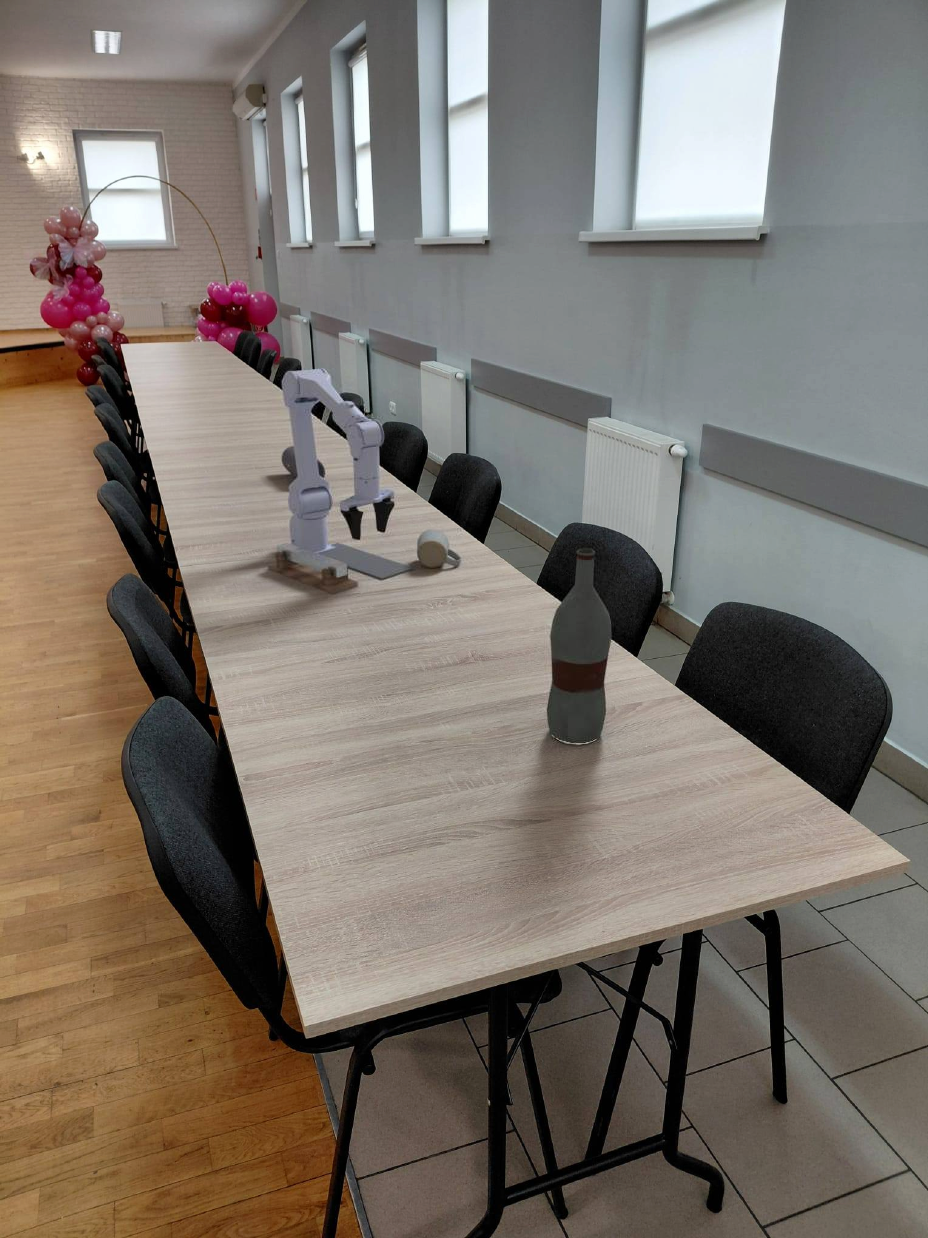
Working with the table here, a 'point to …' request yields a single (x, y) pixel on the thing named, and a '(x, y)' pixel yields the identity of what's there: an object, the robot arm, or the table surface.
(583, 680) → the bottle
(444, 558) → the ceramic mug
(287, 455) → the bluetooth speaker
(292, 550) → the steel rail
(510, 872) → the table surface
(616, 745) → the table surface
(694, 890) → the table surface
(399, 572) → the rubber mat
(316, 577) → the walnut standards
